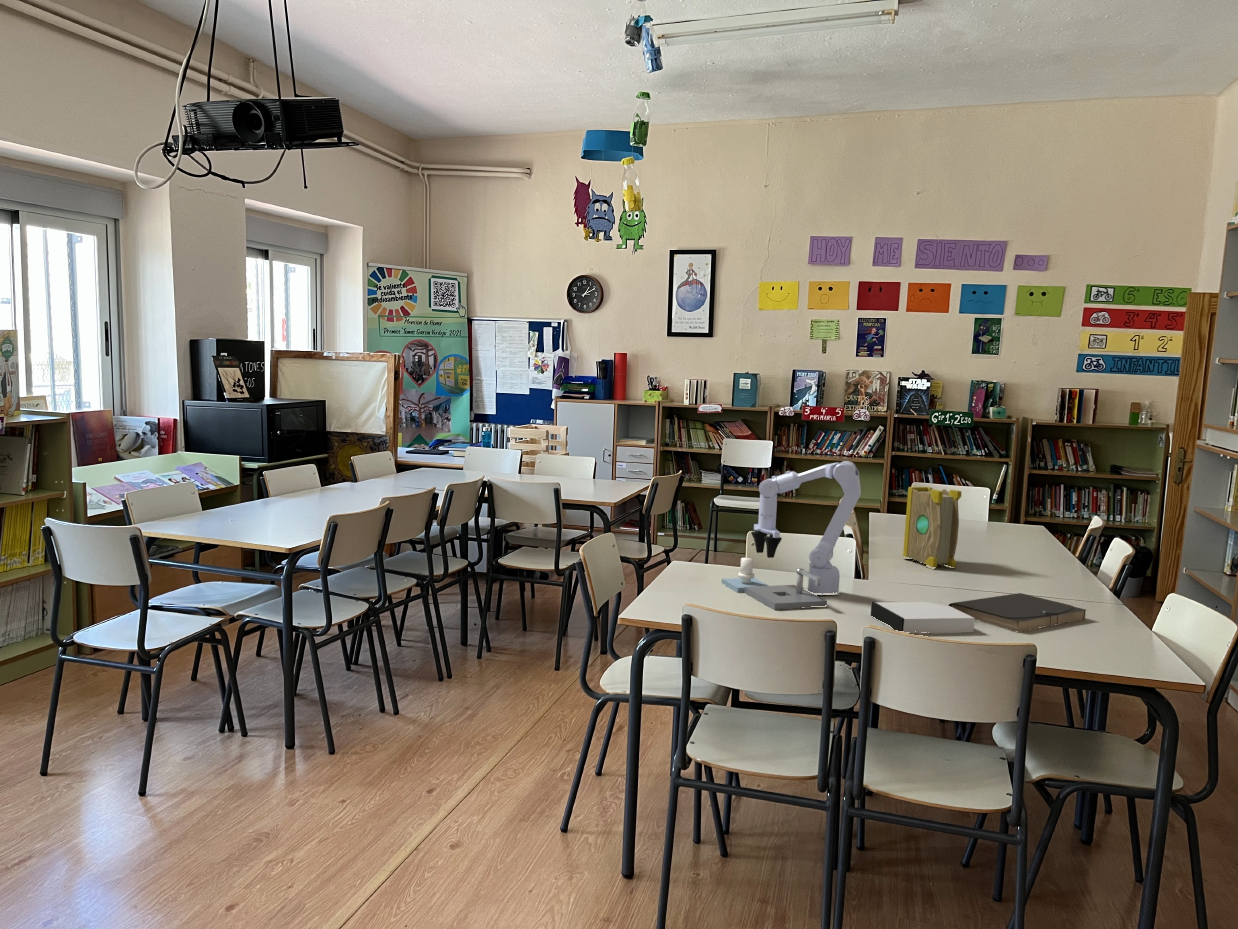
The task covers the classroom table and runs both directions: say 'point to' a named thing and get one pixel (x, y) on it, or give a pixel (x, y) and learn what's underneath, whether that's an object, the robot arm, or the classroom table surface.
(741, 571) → the plug
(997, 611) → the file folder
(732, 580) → the mat
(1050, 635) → the classroom table surface
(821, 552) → the robot arm
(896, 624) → the disc drive
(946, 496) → the decorative book
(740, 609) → the classroom table surface
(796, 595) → the grey socket base
